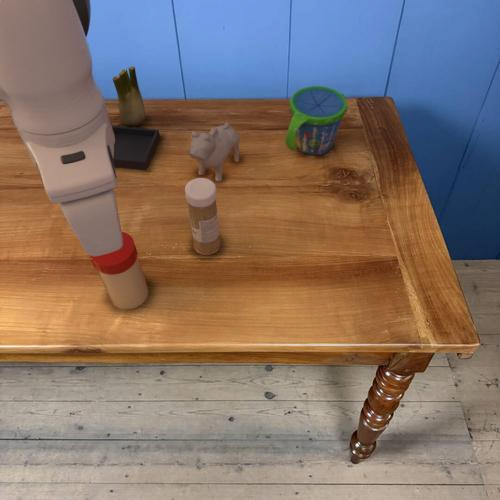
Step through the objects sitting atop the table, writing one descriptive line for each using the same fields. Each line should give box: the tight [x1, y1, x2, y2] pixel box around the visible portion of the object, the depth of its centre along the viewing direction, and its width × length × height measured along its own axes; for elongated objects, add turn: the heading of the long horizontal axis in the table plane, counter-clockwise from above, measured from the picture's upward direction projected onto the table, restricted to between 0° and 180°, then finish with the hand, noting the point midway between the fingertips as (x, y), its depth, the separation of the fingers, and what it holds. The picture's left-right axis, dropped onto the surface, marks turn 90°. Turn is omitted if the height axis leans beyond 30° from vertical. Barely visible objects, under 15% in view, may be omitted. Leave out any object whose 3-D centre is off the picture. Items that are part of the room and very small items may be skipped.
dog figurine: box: [187, 122, 240, 182], centre depth 84 cm, size 5×13×11 cm, turn 151°
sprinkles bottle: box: [184, 177, 221, 256], centre depth 71 cm, size 5×5×13 cm
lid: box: [89, 231, 139, 275], centre depth 63 cm, size 6×6×2 cm
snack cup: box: [284, 85, 349, 156], centre depth 89 cm, size 16×10×10 cm
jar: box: [97, 254, 149, 311], centre depth 67 cm, size 6×6×11 cm
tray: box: [112, 125, 162, 171], centre depth 92 cm, size 17×10×2 cm, turn 82°
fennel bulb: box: [112, 65, 147, 128], centre depth 93 cm, size 6×5×12 cm
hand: (103, 222), depth 58 cm, fingers open, 7 cm apart
